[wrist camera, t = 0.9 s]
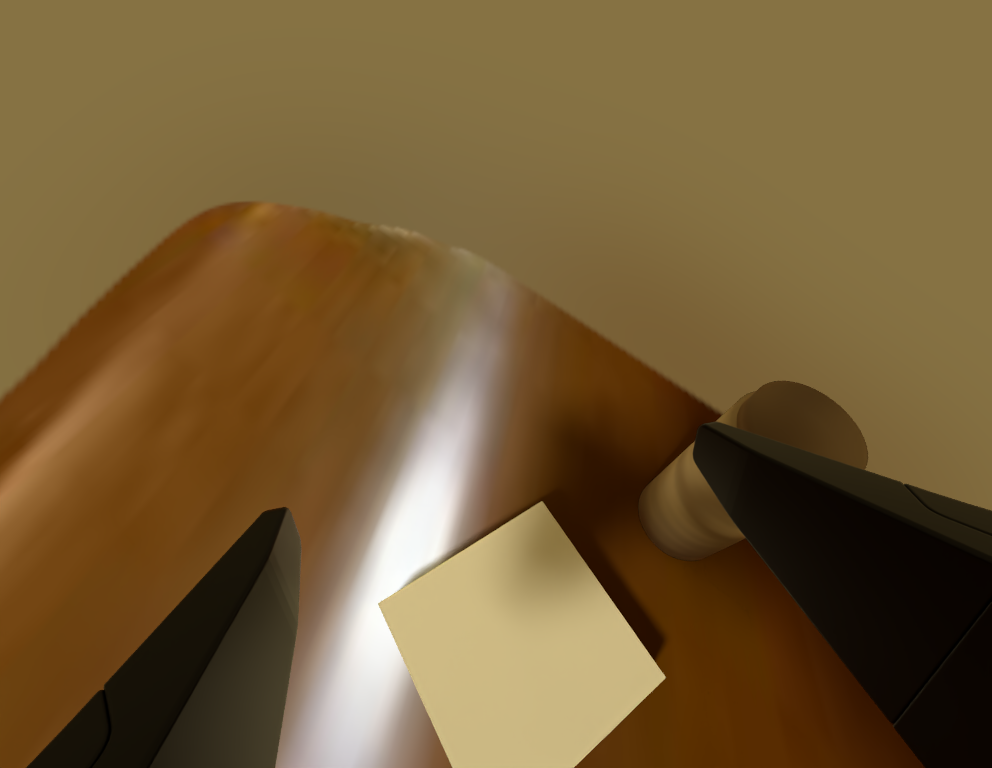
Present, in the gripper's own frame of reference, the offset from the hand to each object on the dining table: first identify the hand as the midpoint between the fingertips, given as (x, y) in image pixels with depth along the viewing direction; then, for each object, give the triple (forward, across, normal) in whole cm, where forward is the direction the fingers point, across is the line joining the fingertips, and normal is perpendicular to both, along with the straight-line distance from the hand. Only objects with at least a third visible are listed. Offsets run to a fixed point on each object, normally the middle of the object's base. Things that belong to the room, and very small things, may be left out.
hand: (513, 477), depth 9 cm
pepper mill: (+8, -12, +13) cm, 20 cm away
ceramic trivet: (+5, -1, +14) cm, 15 cm away
